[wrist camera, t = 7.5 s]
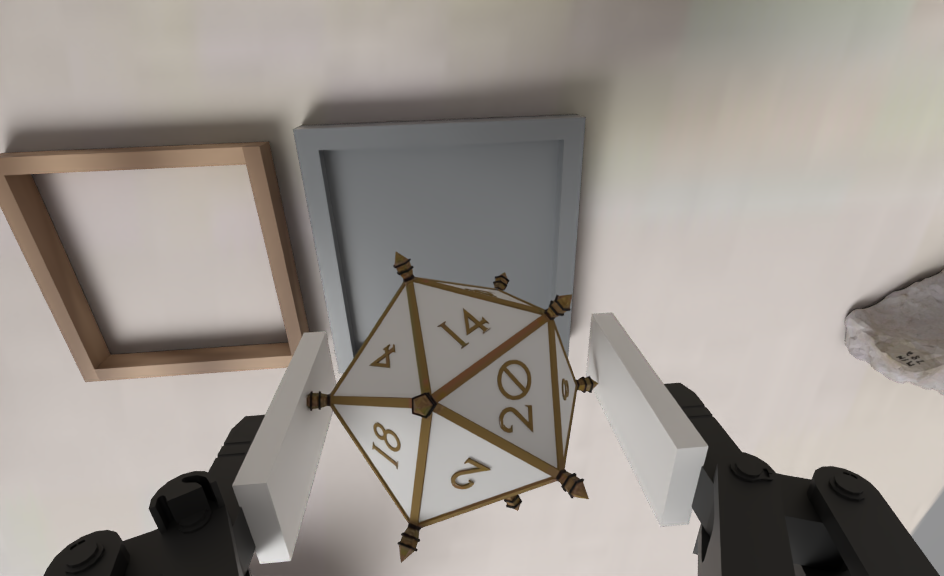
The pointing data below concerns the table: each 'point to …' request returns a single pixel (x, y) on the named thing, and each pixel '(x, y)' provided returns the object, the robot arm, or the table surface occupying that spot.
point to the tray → (441, 210)
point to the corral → (23, 207)
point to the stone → (903, 334)
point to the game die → (460, 399)
